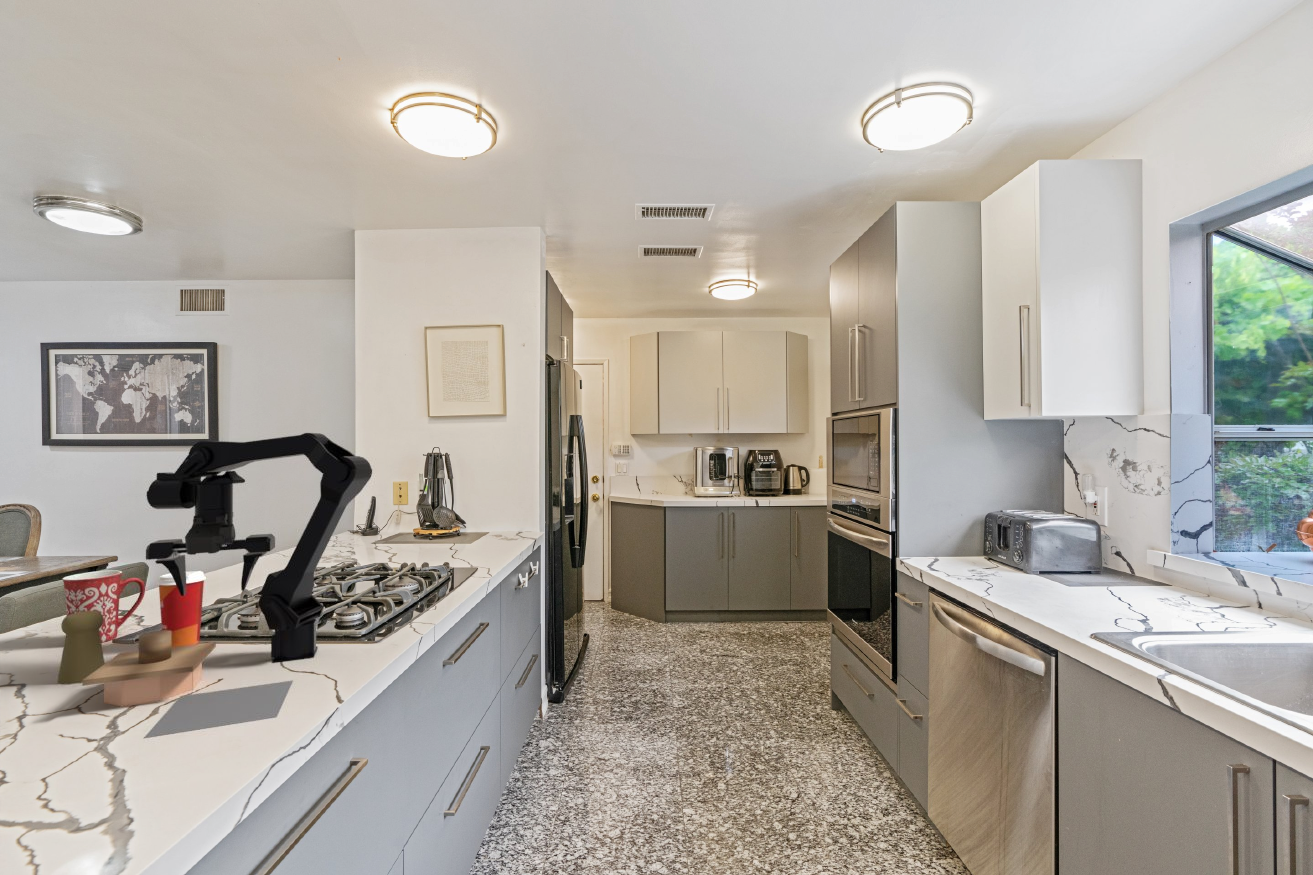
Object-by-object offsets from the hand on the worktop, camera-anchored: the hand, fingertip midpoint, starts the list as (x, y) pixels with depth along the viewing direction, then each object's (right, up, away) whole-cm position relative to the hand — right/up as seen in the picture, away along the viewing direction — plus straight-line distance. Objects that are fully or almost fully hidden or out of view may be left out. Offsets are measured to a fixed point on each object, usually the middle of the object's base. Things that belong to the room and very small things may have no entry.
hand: (213, 592), depth 112 cm
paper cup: (-12, -13, +8) cm, 19 cm away
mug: (-31, -13, +12) cm, 36 cm away
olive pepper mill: (-16, -12, -9) cm, 22 cm away
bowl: (+3, -12, -17) cm, 20 cm away
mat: (+19, -11, -23) cm, 31 cm away
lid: (+3, -7, -16) cm, 18 cm away
